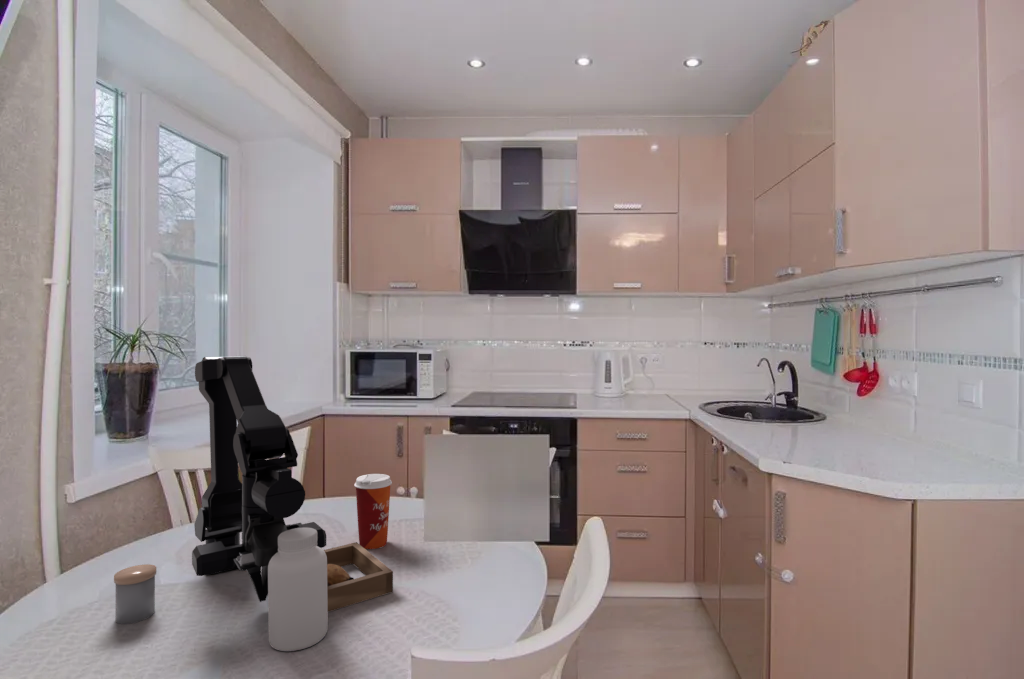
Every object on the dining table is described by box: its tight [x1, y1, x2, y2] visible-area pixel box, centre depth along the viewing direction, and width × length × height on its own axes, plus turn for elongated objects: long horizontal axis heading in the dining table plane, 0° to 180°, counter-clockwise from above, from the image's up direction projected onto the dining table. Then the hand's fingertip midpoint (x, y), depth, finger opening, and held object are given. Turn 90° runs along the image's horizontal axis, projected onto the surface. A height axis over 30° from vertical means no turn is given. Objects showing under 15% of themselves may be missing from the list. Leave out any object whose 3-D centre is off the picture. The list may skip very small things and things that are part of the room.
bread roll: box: [327, 564, 355, 586], centre depth 93 cm, size 11×8×4 cm
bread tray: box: [323, 542, 394, 613], centre depth 92 cm, size 16×15×4 cm
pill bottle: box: [267, 528, 329, 652], centre depth 77 cm, size 8×8×15 cm
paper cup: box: [354, 473, 393, 550], centre depth 112 cm, size 8×8×14 cm
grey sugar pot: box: [113, 563, 157, 625], centre depth 83 cm, size 5×5×7 cm
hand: (262, 600), depth 85 cm, fingers closed
